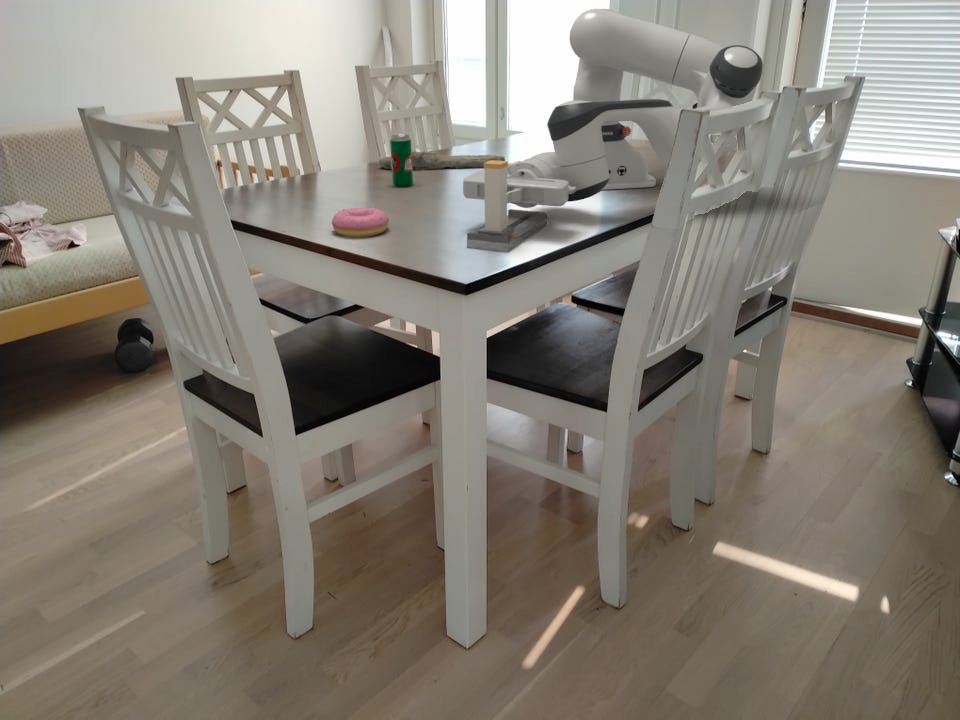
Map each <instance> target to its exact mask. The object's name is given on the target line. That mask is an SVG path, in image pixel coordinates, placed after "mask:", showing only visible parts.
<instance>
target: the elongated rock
mask: <svg viewBox="0 0 960 720" xmlns="http://www.w3.org/2000/svg"><path fill="white" fill-rule="evenodd" d="M491 160H495V161H506V159H505V156H503V155H502V156H501V155H496V154H495V155H494V154H493V155H492V154H491V155H490V154H478V155H474V154H473V155H467V154H464V155H462V154H461V155H445V154H439V153H437V152H436V151H431V150H430V151H427V152H426V151H425V150H424V151H412V168H413V171H426V170H427V171H428V170H441V169H445V168H454V169H462V168H471V169H484V163H486V162H488V161H491ZM378 165H379V167H381V168H384V169H386V170H388V169H389V170H392V163H391V156H384V157H381V158H379V164H378Z"/></svg>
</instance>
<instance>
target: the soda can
mask: <svg viewBox="0 0 960 720" xmlns="http://www.w3.org/2000/svg"><path fill="white" fill-rule="evenodd" d="M390 137H391V138H390V140H389V146H390V157H391V163H392V169H391V175H392V176H391V180H392V184H393V186H394V187H396V188H409V187H412V185H413V184H414V176H413V175H414V174H413V173H414V172H413V171H414V170H413V168H412V152H413V151H412V139H411V138H410V135H409V134H405V133H404V134H403V133H401V134H392V135H391V136H390Z"/></svg>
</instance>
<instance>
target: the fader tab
mask: <svg viewBox="0 0 960 720" xmlns="http://www.w3.org/2000/svg"><path fill="white" fill-rule="evenodd" d="M508 164H509V162H508V161H507V160H505V161H495V160H491V161H488V162H486V163H484V168H483V170H484V172H485V200H484V227H482V228H480V229H478V230H477V232H478V233H483V234H492V235H501V236H509V235H510V234H512V233H514V227H511V226H507V216H508V204H507V166H508Z"/></svg>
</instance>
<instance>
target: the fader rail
mask: <svg viewBox="0 0 960 720" xmlns="http://www.w3.org/2000/svg"><path fill="white" fill-rule="evenodd" d="M507 226H511V227H514V233H512V234H510V235H509V236H501V235H492V234H483V233H478V231H477V232H474V231H473V232H472V231H469V232H467V233H466V248H470V249H480V250H488V251H496V252H504V253H509V252H510V251H512V250H514V249H515V248H516V247H518V246H519V245H520V244H522V243H524V242H525V241H527V240H528V239H529V238H531V237H532V236H534V235H535V234H537V233H538V232H539V231H541V230H543V229H544V228H545V227H546V226H548V212H545V211H543V212H542V211H533V210H522V209H515V208H514V209H513V208H510V209H507Z"/></svg>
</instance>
